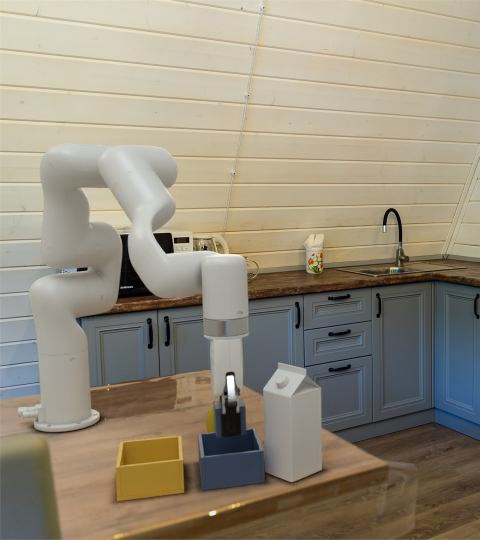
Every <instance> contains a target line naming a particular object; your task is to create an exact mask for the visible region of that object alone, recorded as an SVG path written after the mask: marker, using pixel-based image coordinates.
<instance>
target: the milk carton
mask: <svg viewBox="0 0 480 540" xmlns="http://www.w3.org/2000/svg"><path fill="white" fill-rule="evenodd" d="M262 402H263V405H262V407H263V445H264V447H263V450H264V473H265V474H268V475H271V476H274V477H276V478H279V479H281V480H285V481H287V482H290V483H294V482H297V481H299V480H302V479H304V478H306V477H308V476H311V475H313V474H316V473H318V472H320V471H322V470H323V433H322V432H323V431H322V430H323V427H322V424H323V423H322V387H321V386H320V385H319V384H318V383H316V382H315V381H314V380H312V378H310V377H309V376H308V374H307V368H303V367H299V366H295V365H291V364H286V363H283V362H277V368H276V370H275V372H274V373H273V374H272V376H271V377H270V379H269V380H268V381H267V382H266V384H265V385H264V387H263V388H262Z"/></svg>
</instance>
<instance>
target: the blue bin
mask: <svg viewBox="0 0 480 540" xmlns="http://www.w3.org/2000/svg"><path fill="white" fill-rule="evenodd" d="M197 447H198V448H197V449H198V452H197V453H198V468H199V476H200V485H201V491H210V490H218V489H225V488H233V487H240V486H241V487H242V486H250V485H257V484H264V483H265V482H266V479H265V475H266V473H265V452H264V447H263V444H262V442H261V439H260V436H259V434H258V431H257V428H256V427H250V428H249V427H248V428H246V435H240V436H232V437H219V438H216V434H215V432H210V433H208V432H202V433H197Z"/></svg>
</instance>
